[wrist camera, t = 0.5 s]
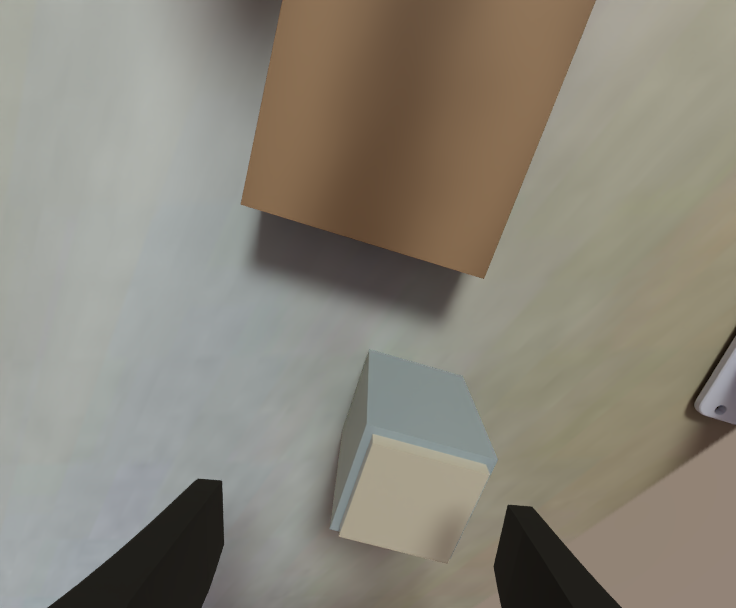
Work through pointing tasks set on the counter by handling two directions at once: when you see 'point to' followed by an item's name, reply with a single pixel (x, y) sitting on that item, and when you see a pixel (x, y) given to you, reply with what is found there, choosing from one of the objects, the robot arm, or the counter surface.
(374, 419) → the blue block cream face
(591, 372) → the counter surface
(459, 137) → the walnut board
